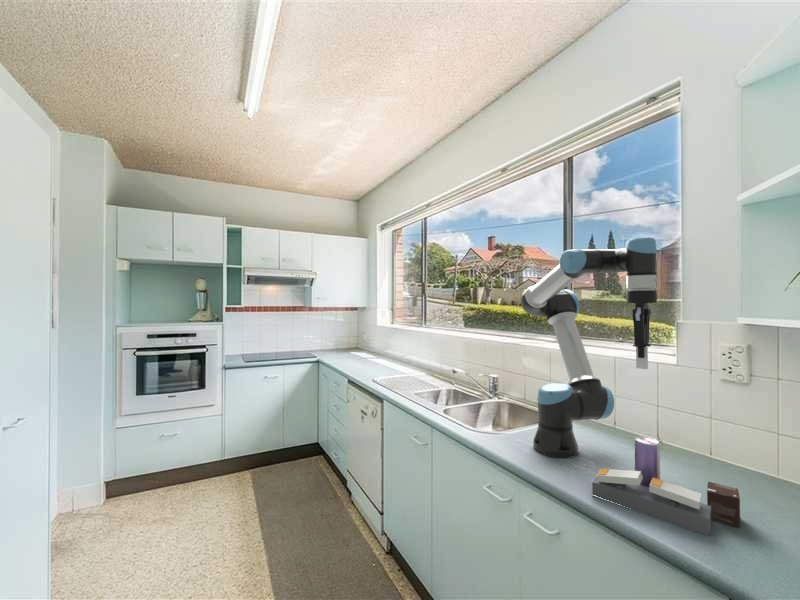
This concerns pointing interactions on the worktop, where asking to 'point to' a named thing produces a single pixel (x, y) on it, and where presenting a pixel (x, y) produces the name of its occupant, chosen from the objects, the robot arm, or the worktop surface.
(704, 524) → the switch panel
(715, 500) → the box
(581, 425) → the worktop surface
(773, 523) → the worktop surface
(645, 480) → the beverage can
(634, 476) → the block
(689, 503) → the rocker right
